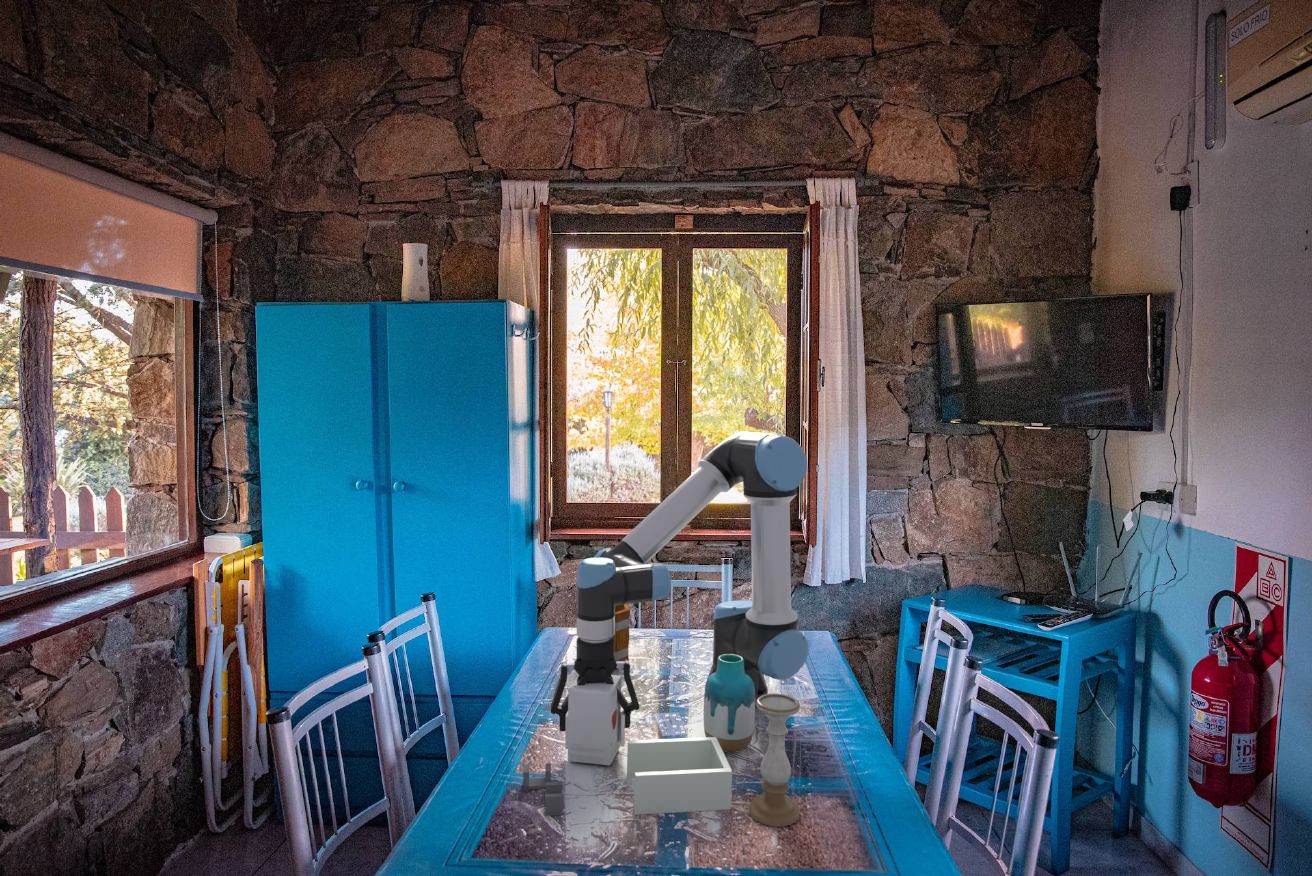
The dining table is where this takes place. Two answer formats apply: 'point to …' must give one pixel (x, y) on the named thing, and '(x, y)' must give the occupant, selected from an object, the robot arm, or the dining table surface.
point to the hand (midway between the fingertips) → (594, 744)
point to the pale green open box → (679, 775)
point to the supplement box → (594, 722)
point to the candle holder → (775, 765)
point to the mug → (621, 632)
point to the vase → (730, 704)
